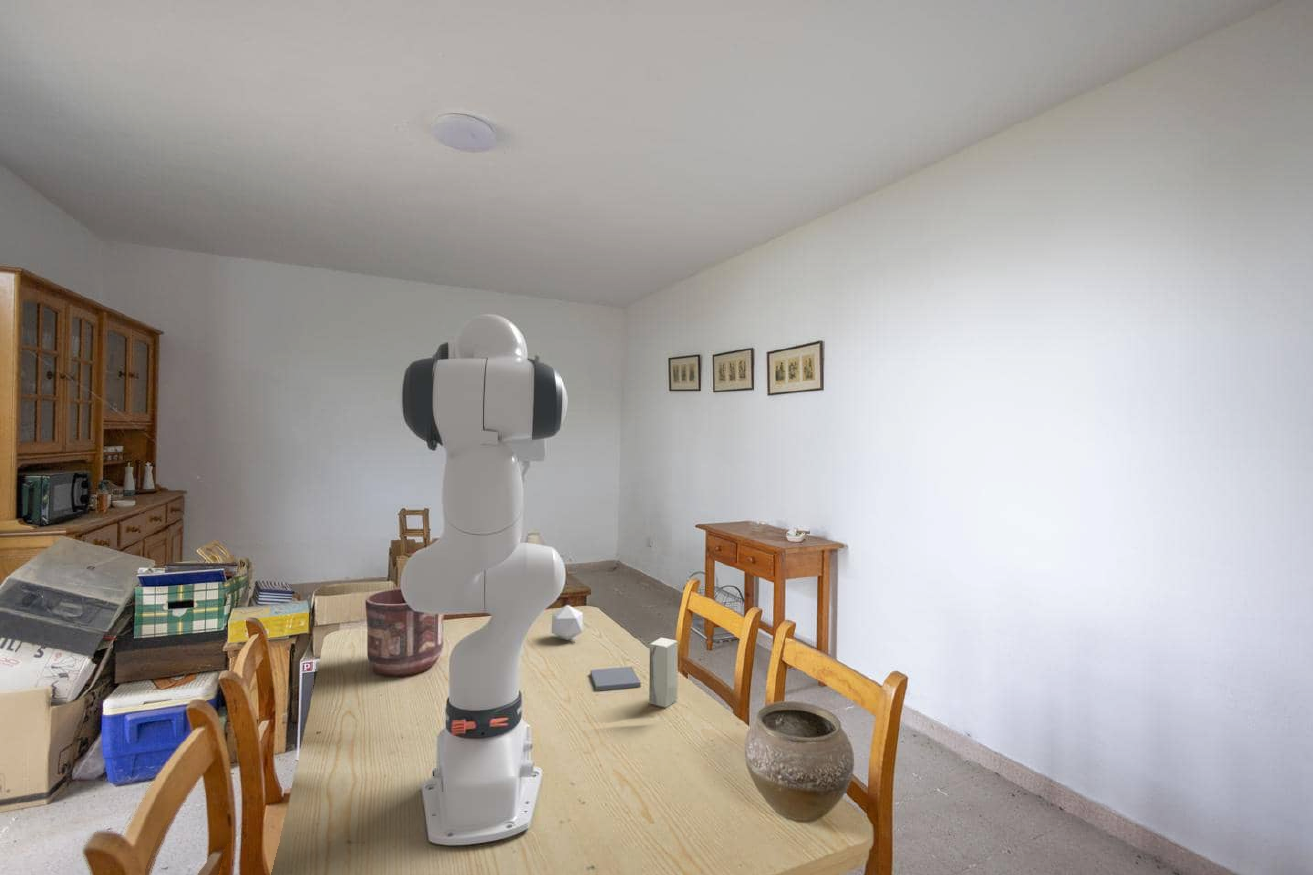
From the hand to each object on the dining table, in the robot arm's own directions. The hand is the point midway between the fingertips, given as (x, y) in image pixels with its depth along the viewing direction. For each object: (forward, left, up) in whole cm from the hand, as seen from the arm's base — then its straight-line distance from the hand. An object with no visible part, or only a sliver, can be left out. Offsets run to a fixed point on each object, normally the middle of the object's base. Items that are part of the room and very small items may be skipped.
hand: (497, 483), depth 129 cm
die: (+37, -19, -47) cm, 62 cm away
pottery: (+23, +21, -47) cm, 56 cm away
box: (-8, -35, -47) cm, 59 cm away
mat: (+6, -27, -46) cm, 54 cm away
